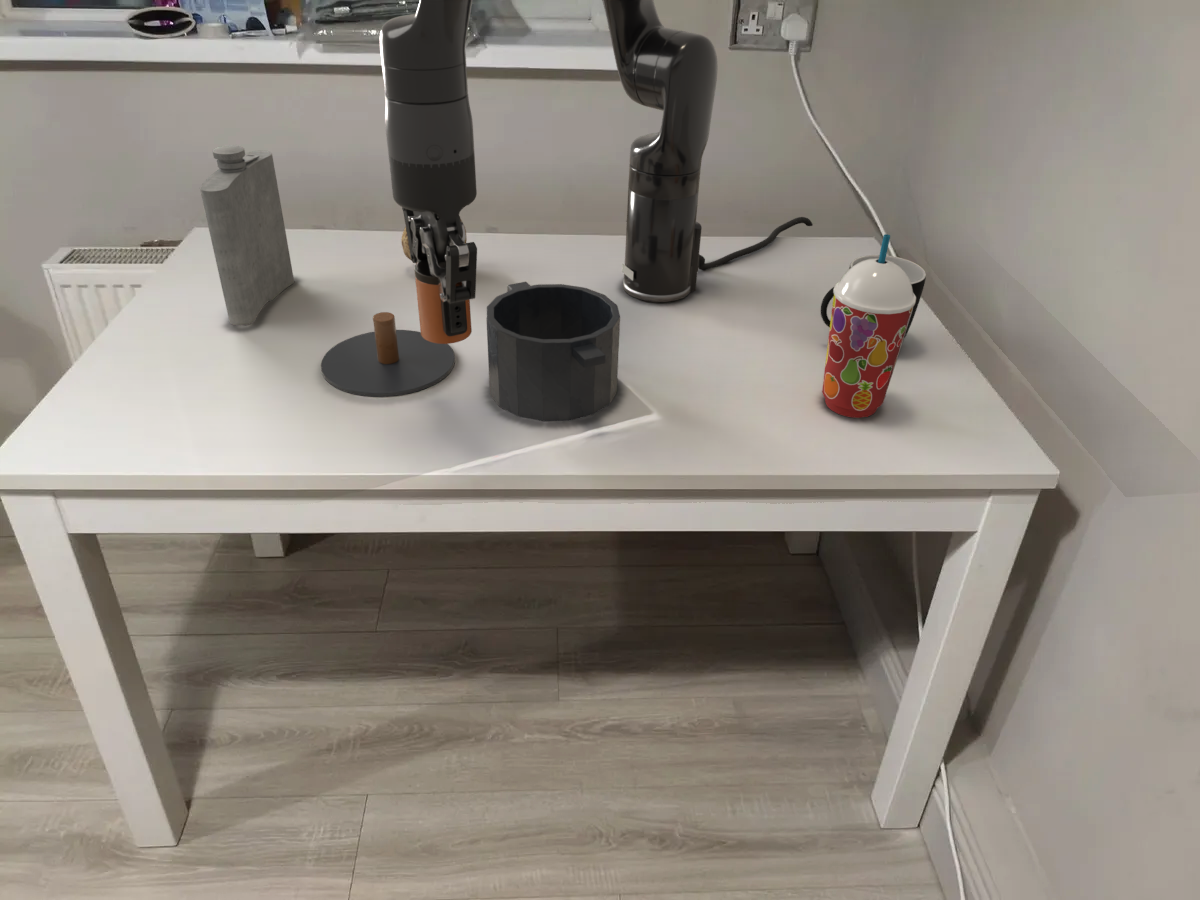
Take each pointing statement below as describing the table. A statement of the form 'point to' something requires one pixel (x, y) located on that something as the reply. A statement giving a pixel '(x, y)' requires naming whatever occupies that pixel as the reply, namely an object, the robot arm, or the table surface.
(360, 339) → the pot lid
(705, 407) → the table surface
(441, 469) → the table surface
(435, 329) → the tea tin
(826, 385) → the smoothie
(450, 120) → the robot arm
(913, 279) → the mug
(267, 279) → the hip flask
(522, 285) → the pot
